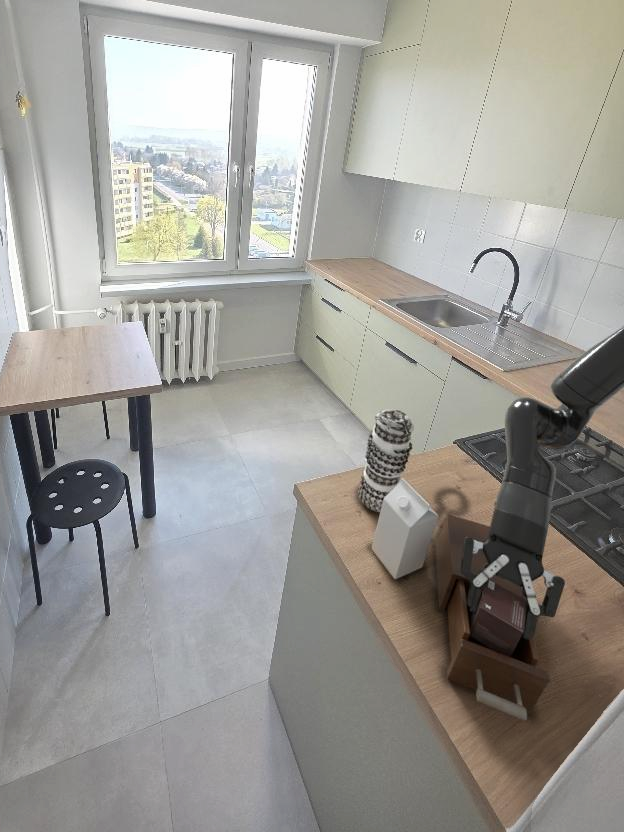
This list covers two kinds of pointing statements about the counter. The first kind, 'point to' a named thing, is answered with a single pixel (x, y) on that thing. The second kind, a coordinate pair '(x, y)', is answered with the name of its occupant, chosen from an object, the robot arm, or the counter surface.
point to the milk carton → (404, 530)
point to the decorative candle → (385, 457)
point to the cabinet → (451, 556)
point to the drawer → (492, 663)
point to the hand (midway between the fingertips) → (497, 624)
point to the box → (498, 619)
